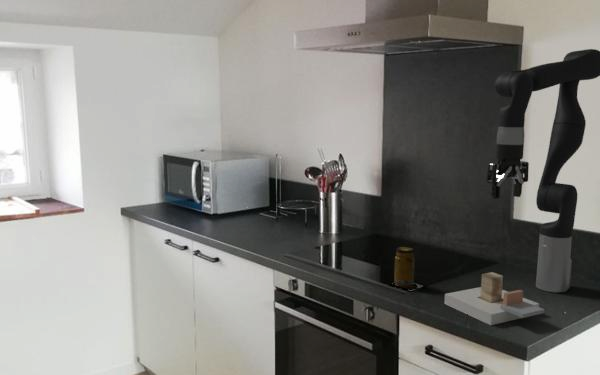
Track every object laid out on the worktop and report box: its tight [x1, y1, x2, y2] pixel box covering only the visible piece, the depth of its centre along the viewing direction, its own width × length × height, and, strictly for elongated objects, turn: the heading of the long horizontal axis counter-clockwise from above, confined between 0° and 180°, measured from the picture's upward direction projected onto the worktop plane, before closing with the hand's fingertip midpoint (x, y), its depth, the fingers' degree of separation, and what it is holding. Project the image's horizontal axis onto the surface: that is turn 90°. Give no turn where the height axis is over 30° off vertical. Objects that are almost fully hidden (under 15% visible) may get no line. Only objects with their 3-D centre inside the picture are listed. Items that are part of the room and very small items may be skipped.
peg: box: [480, 271, 504, 303], centre depth 169 cm, size 4×4×10 cm
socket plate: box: [444, 286, 540, 326], centre depth 170 cm, size 18×18×3 cm
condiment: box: [393, 246, 424, 292], centre depth 188 cm, size 7×8×12 cm
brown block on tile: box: [500, 289, 545, 319], centre depth 159 cm, size 8×8×4 cm
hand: (506, 197), depth 176 cm, fingers open, 8 cm apart
